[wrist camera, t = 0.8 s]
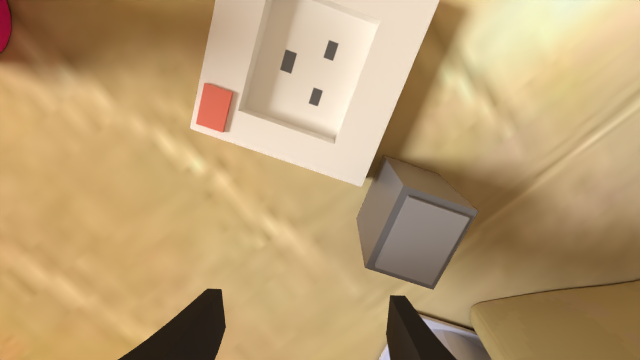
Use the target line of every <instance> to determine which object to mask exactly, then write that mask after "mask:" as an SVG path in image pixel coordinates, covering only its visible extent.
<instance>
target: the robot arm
mask: <svg viewBox="0 0 640 360" xmlns="http://www.w3.org/2000/svg"><path fill="white" fill-rule="evenodd" d="M225 328H226V325H225V316H224V307H223V299H222V290H221V289H207V290H205V291H204V292H203V293H202V294H201V295H200V296H198V297H197V298H196V299H195V300H194V301H193V302H192V303H191V304H189V305H188V306H187V307H186V308H185V309H184V310H183V311H181V312H180V313H179V314H178V315H177V316H176V317H174V318H173V319H172V320H171V321H170V322H168V323H167V324H166V325H165V326H163V327H162V328H161V329H160V330H158V331H157V332H156V333H155V334H153V335H152V336H151V337H149V338H148V339H147V340H146V341H144V342H143V343H141V344H140V345H139V346H137V347H136V348H134V349H133V350H132V351H130V352H129V353H127V354H126V355H124V356H123V357H121V358H120V359H118V360H215V357H216V355H217V353H218V350H219V347H220V344H221V341H222V338H223V334H224V331H225ZM386 335H387V345H386V347H385V349H384V351H383V352H382V354H381V356H380V358H379V360H492V359H491V357H490V356H489V354H488V352H487V350H486V349H485V347H484V345H483V343H482V342H481V340H480V338H479V337H478V335H477V333H476V332H475V331H472V330H468V329H465V328H462V327H459V326H456V325H452V324H449V323H446V322H443V321H440V320H436V319H433V318H430V317H427V316H424V315H421V314H418V313H417V311H416V310H415V309H414V307H413V306H412V304H411V303H410V302H409V300H408V299H407V298H406V297H405V296H394V295H390V302H389V312H388V322H387V331H386Z"/></svg>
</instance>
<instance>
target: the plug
mask: <svg viewBox="0 0 640 360" xmlns="http://www.w3.org/2000/svg"><path fill="white" fill-rule="evenodd" d="M477 213H478V210H477V209H476V208H475V207H473V206H472V205H471V204H470V203H469V202H468V201H467V200H466V199H465V198H464V197H463V196H461V195H460V194H459V193H458V192H457V191H456V190H455V189H454V188H453V187H452V186H451V185H450V184H448V183H447V182H446V181H445V180H444V179H443V178H442V177H441V176H440V175H439V174H436V173H434V172H431V171H428V170H425V169H422V168H419V167H416V166H414V165H411V164H408V163H405V162H402V161H399V160H396V159H394V158H391V157H388V156H385V155H383V158H382V160H381V162H380V165H379V167H378V169H377V172H376V174H375V176H374V179H373V181H372V183H371V186H370V188H369V190H368V193H367V195H366V197H365V200H364V202H363V204H362V207H361V209H360V211H359V214H358V216H357V218H356V219H357V224H358V230H359V236H360V242H361V248H362V254H363V260H364V265H365V268H367V269H370V270H373V271H377V272H380V273H383V274H386V275H389V276H392V277H395V278H398V279H402V280H405V281H408V282H411V283H414V284H417V285H420V286H423V287H426V288H430V289H434V288H435V286H436V284H437V282H438V281H439V279H440V277H441V276H442V274H443V272H444V270H445V269H446V267H447V265H448V263H449V262H450V260H451V258H452V256H453V255H454V253H455V251H456V249H457V248H458V246H459V244H460V242H461V241H462V239H463V237H464V235H465V234H466V232H467V230H468V229H469V227H470V225H471V223H472V222H473V220H474V218H475V216H476V215H477Z"/></svg>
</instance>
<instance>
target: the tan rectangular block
mask: <svg viewBox="0 0 640 360" xmlns="http://www.w3.org/2000/svg"><path fill="white" fill-rule="evenodd" d="M470 322H471V324H472V326H473V328H474V330H475V331H476V333H477V335H478V337H479V338H480V340H481V342H482V343H483V345H484V347H485V349H486V350H487V352H488V354H489V356H490V357H491V359H492V360H640V281H634V282H628V283H621V284H614V285H606V286H597V287H587V288H576V289H566V290H557V291H549V292H542V293H535V294H528V295H522V296H515V297H509V298H503V299H497V300H491V301H485V302H481V303H478V304H475V305H474V306H472V307H471V311H470Z"/></svg>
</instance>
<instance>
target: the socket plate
mask: <svg viewBox="0 0 640 360" xmlns="http://www.w3.org/2000/svg"><path fill="white" fill-rule="evenodd" d="M439 1H440V0H216V1H215V6H214V11H213V16H212V21H211V26H210V31H209V36H208V41H207V46H206V51H205V56H204V61H203V66H202V71H201V76H200V81H199V86H198V91H197V96H196V101H195V106H194V111H193V116H192V121H191V126H190V129H192V130H195V131H198V132H201V133H204V134H207V135H210V136H213V137H216V138H219V139H222V140H225V141H228V142H231V143H233V144H236V145H239V146H242V147H245V148H248V149H251V150H254V151H257V152H260V153H263V154H266V155H269V156H272V157H275V158H278V159H280V160H283V161H286V162H289V163H292V164H295V165H298V166H301V167H304V168H307V169H310V170H313V171H316V172H319V173H322V174H324V175H327V176H330V177H333V178H336V179H339V180H342V181H345V182H348V183H351V184H354V185H357V186H360V187H362V185H363V182H364V180H365V178H366V175H367V173H368V170H369V168H370V166H371V163H372V161H373V158H374V156H375V154H376V151H377V149H378V146H379V144H380V142H381V139H382V137H383V134H384V132H385V130H386V127H387V125H388V123H389V120H390V118H391V115H392V113H393V111H394V108H395V106H396V103H397V101H398V99H399V96H400V94H401V91H402V89H403V87H404V84H405V82H406V80H407V77H408V75H409V72H410V70H411V68H412V65H413V63H414V60H415V58H416V56H417V53H418V51H419V48H420V46H421V44H422V41H423V39H424V37H425V34H426V32H427V29H428V27H429V25H430V22H431V20H432V17H433V15H434V13H435V10H436V8H437V5H438V3H439Z"/></svg>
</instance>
